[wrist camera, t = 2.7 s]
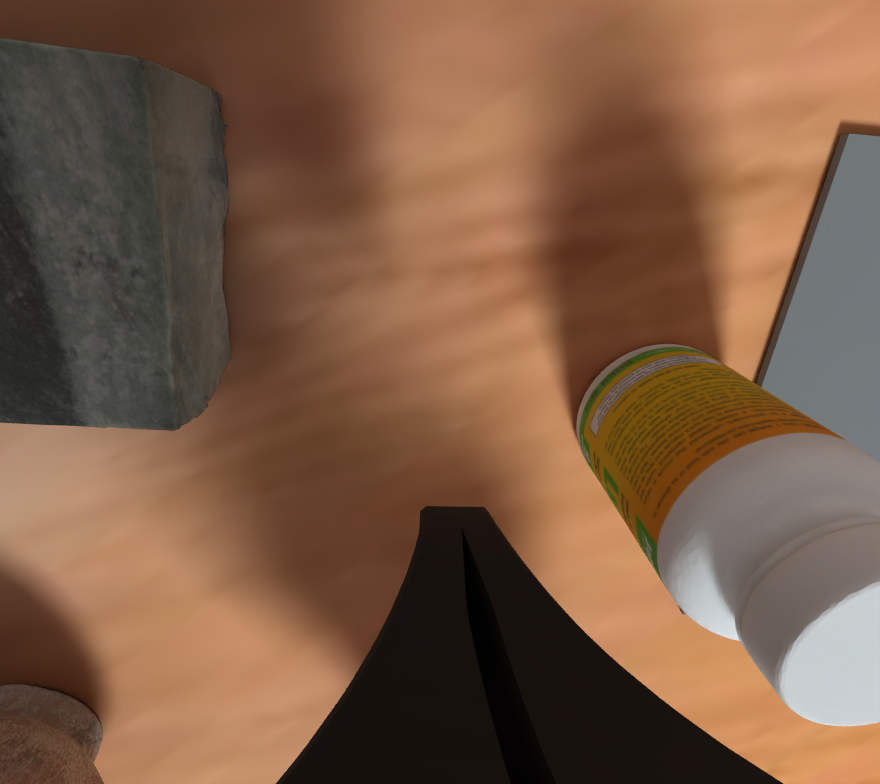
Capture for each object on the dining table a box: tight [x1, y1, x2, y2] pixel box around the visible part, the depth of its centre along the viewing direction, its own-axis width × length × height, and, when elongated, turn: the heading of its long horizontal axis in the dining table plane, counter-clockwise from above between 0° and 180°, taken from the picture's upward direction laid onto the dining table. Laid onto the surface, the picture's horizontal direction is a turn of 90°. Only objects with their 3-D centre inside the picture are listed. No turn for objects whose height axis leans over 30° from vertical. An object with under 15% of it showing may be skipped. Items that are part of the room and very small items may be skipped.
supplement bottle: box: [576, 344, 880, 726], centre depth 14 cm, size 5×5×10 cm
